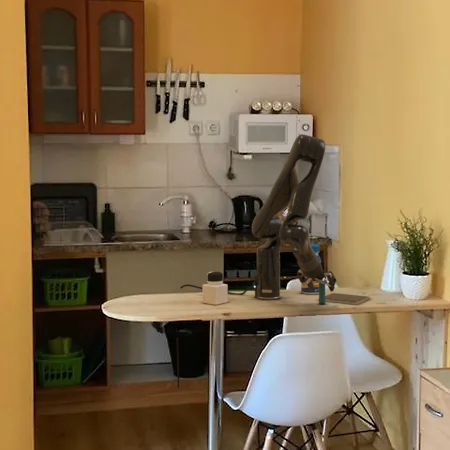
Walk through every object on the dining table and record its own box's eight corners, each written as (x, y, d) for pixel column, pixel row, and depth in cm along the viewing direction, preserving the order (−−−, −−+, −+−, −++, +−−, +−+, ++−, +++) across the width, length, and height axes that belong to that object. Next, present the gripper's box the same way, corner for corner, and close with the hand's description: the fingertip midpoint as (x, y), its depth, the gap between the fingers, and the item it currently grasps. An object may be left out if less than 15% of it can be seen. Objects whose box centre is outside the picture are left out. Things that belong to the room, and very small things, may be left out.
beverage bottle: (324, 292, 312) (324, 244, 310) (316, 295, 305) (316, 246, 303) (306, 290, 316) (306, 243, 314) (297, 293, 309) (297, 245, 307)
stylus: (317, 304, 286) (317, 282, 285) (320, 303, 288) (320, 281, 288) (323, 305, 285) (323, 283, 284) (326, 303, 287) (326, 282, 286)
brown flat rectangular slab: (318, 300, 294) (318, 297, 293) (332, 295, 304) (332, 292, 304) (356, 304, 285) (356, 301, 285) (369, 299, 296) (369, 296, 296)
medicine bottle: (228, 302, 292) (227, 271, 291) (215, 305, 287) (215, 274, 286) (214, 300, 297) (214, 270, 296) (202, 302, 292) (201, 272, 291)
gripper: (329, 256, 274) (342, 282, 285) (294, 253, 282) (308, 279, 292) (323, 272, 270) (336, 298, 281) (288, 269, 278) (302, 295, 288)
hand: (322, 288), depth 287 cm, fingers open, 8 cm apart
